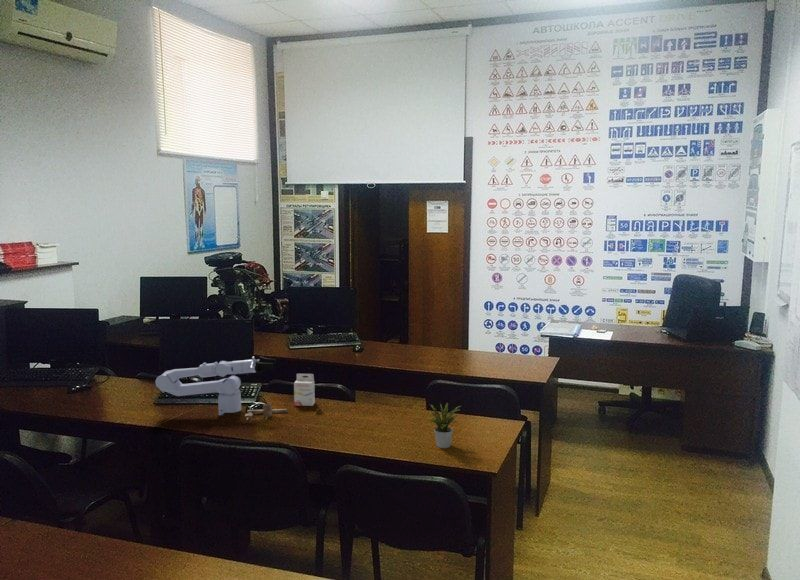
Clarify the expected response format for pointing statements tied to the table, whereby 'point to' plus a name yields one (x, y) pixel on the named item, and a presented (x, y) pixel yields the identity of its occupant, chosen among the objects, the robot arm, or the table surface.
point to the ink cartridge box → (304, 390)
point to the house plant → (443, 426)
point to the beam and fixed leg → (251, 412)
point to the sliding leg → (267, 410)
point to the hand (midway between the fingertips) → (274, 363)
